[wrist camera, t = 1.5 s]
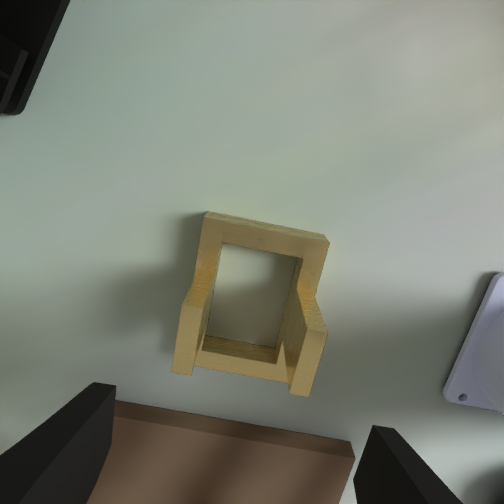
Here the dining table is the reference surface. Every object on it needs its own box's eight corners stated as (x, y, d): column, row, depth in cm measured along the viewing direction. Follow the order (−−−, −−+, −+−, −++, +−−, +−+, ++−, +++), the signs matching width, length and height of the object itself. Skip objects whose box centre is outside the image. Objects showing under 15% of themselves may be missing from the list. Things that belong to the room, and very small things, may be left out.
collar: (324, 234, 18) (352, 273, 12) (288, 366, 20) (298, 445, 15) (207, 211, 17) (186, 240, 12) (185, 347, 20) (158, 421, 14)
